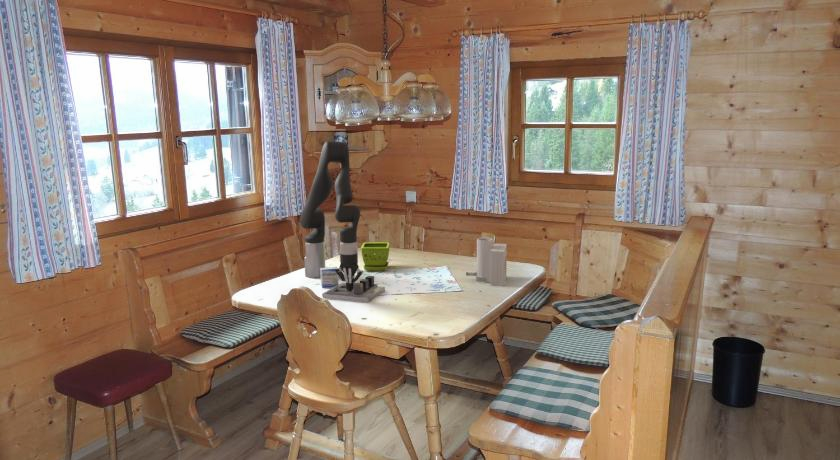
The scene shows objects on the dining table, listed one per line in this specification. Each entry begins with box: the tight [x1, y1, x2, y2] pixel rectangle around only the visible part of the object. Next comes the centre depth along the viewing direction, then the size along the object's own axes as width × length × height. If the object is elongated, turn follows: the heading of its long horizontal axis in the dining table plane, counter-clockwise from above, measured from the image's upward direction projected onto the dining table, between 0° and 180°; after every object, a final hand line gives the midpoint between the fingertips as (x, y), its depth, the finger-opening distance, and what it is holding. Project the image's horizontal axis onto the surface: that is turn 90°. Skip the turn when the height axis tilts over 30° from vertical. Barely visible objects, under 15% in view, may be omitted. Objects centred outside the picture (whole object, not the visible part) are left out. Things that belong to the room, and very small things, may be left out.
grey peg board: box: [321, 275, 386, 304], centre depth 275 cm, size 22×18×7 cm
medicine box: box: [320, 266, 340, 289], centre depth 289 cm, size 8×4×9 cm, turn 105°
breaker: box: [354, 283, 363, 294], centre depth 268 cm, size 3×3×5 cm
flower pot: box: [360, 241, 391, 272], centre depth 318 cm, size 14×14×13 cm
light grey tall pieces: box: [465, 237, 508, 287], centre depth 293 cm, size 16×19×20 cm
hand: (349, 290), depth 269 cm, fingers closed
